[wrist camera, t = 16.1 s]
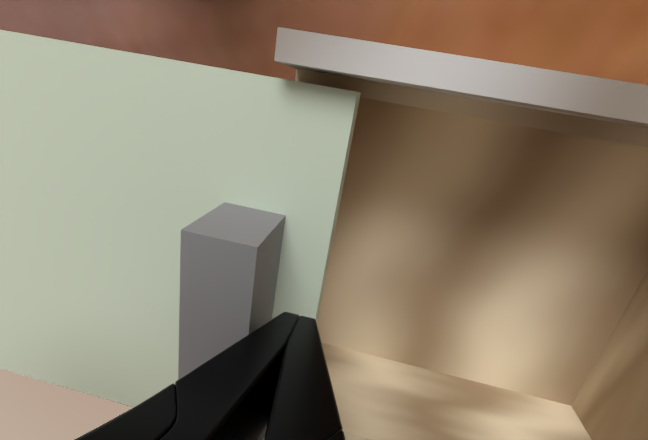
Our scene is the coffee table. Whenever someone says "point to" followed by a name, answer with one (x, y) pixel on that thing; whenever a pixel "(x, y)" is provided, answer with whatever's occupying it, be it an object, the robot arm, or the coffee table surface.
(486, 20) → the coffee table surface
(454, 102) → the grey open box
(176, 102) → the lid
